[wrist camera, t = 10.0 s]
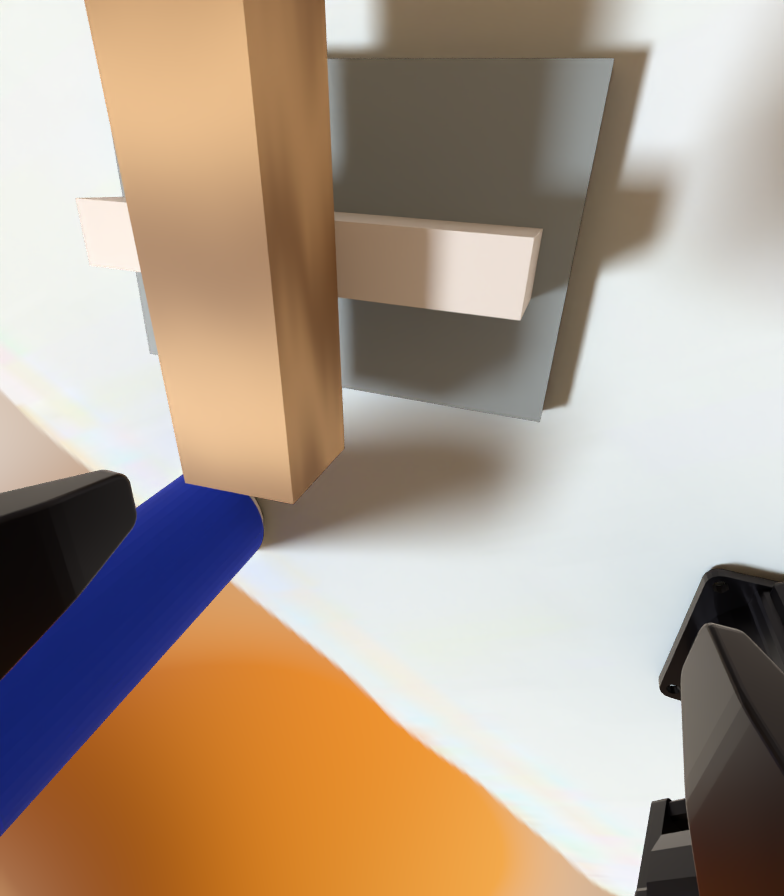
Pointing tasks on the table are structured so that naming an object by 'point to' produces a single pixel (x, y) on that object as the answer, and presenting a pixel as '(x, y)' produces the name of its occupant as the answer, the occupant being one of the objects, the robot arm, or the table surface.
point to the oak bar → (232, 227)
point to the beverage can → (118, 630)
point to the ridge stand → (442, 222)
